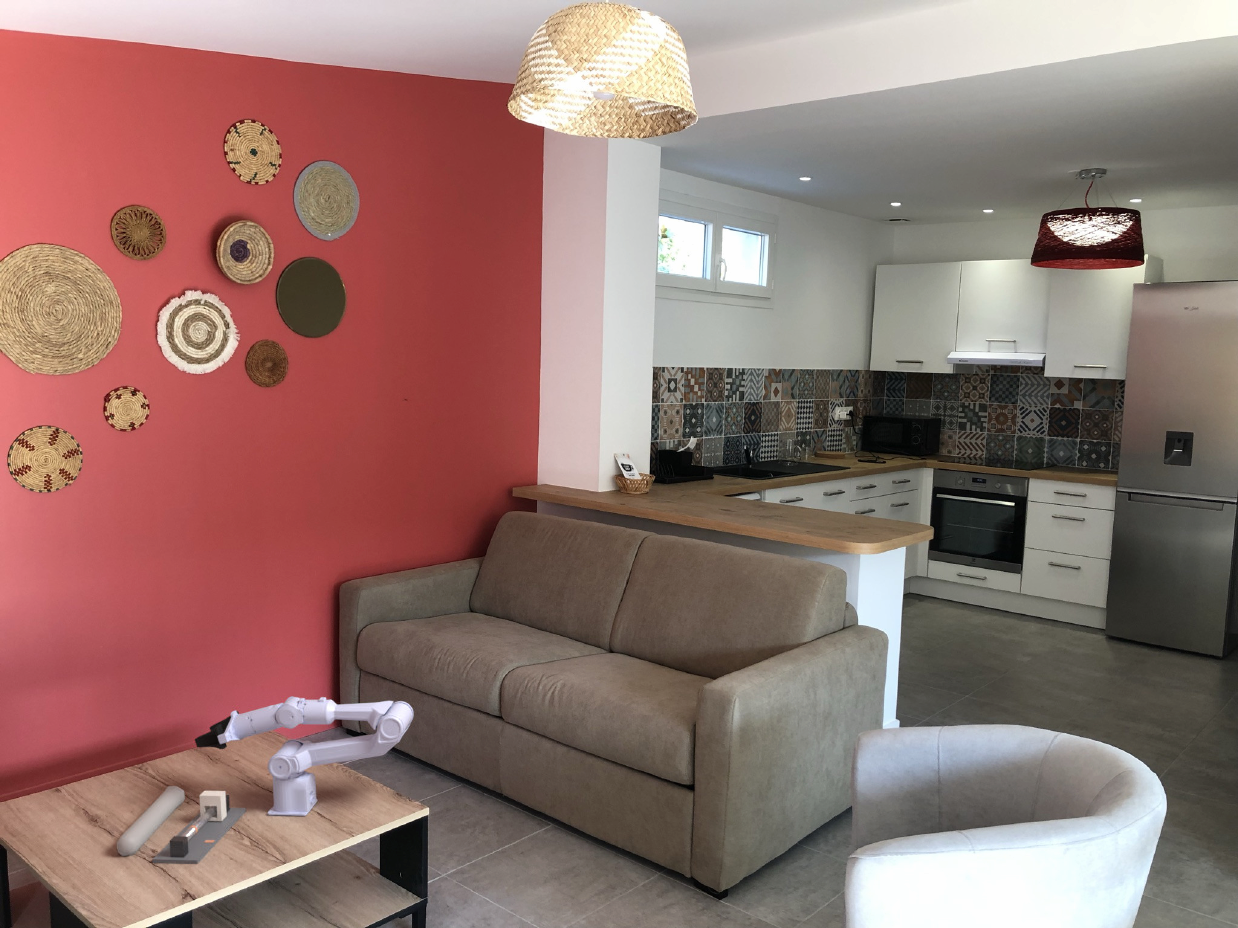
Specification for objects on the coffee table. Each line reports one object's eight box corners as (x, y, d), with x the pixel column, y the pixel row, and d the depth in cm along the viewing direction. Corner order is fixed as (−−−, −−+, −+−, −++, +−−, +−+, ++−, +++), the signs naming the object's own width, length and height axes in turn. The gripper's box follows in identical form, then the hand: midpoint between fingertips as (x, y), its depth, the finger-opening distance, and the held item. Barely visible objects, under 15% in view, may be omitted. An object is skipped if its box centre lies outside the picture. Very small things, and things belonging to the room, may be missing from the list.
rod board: (246, 810, 234) (245, 792, 233) (197, 863, 210) (196, 843, 210) (205, 810, 234) (204, 791, 234) (152, 862, 211) (151, 842, 210)
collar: (226, 815, 229) (225, 790, 228) (221, 821, 227) (220, 795, 226) (206, 815, 229) (204, 790, 229) (200, 820, 227) (199, 795, 226)
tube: (138, 842, 212) (187, 789, 237) (114, 835, 212) (166, 782, 237) (132, 863, 213) (182, 808, 238) (108, 856, 213) (160, 802, 237)
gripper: (263, 696, 240) (212, 710, 241) (238, 717, 225) (184, 732, 226) (272, 722, 240) (221, 736, 241) (247, 745, 226) (193, 760, 227)
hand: (204, 736), depth 234 cm, fingers open, 7 cm apart
